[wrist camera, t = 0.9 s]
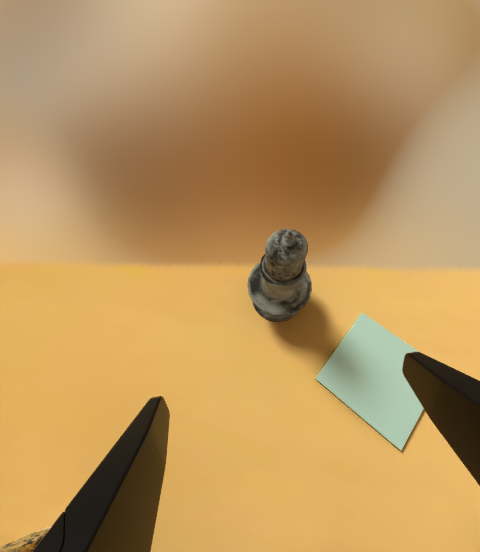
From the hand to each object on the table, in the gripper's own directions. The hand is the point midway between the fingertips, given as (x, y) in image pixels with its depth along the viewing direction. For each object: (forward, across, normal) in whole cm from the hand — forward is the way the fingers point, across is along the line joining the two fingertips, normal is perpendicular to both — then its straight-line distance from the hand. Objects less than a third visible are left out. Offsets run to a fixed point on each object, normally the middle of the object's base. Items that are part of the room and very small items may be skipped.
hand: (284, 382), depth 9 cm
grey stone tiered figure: (+16, -2, +6) cm, 17 cm away
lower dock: (+9, -10, +12) cm, 18 cm away
